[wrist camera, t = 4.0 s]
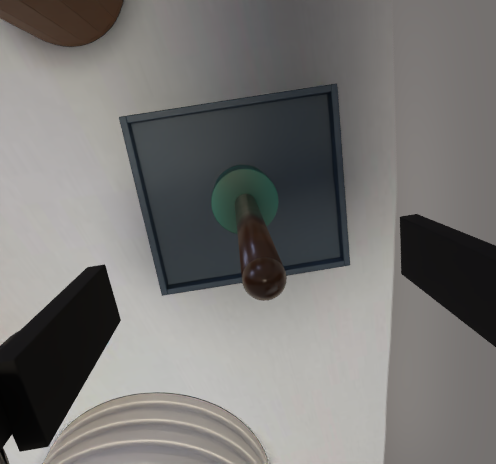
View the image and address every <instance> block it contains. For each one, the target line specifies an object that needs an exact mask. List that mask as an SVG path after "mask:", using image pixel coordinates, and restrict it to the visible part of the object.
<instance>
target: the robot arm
mask: <svg viewBox="0 0 496 464" xmlns="http://www.w3.org/2000/svg"><path fill="white" fill-rule="evenodd" d="M400 236H401V273H402V275H404V276H405V277H406V278H407V279H409V280H410V281H411V282H413V283H414V284H415V285H417V286H418V287H419V288H420V289H422V290H423V291H424V292H425V293H427V294H428V295H429V296H431V297H432V298H433V299H434V300H436V301H437V302H438V303H440V304H441V305H442V306H443V307H445V308H446V309H448V310H449V311H450V312H451V313H452V314H454V315H455V316H456V317H458V318H459V319H460V320H461V321H463V322H464V323H465V324H467V325H468V326H469V327H471V328H472V329H473V330H474V331H476V332H477V333H478V334H479V335H481V336H482V337H483V338H485V339H486V340H487V341H488V342H490V343H491V344H492V345H494V346H495V347H496V246H495V245H492V244H490V243H488V242H485V241H483V240H480V239H478V238H475V237H473V236H470V235H468V234H465V233H463V232H460V231H458V230H455V229H453V228H450V227H448V226H445V225H443V224H440V223H437V222H435V221H433V220H430V219H428V218H425V217H423V216H420V215H418V214H415V215H408V216H402V217H400ZM120 321H121V319H120V316H119V312H118V309H117V305H116V302H115V298H114V295H113V291H112V288H111V284H110V281H109V277H108V274H107V270H106V266H105V265H99V266H93V267H87V268H86V269H85V270H84V271H83V272H82V273H81V274H80V275H79V276H78V277H77V278H76V279H75V280H73V281H72V282H71V283H70V284H69V285H68V286H67V287H66V288H65V289H64V290H63V291H62V292H61V293H60V294H59V295H57V296H56V297H55V298H54V299H53V300H52V301H51V302H50V303H49V304H48V305H47V306H46V307H45V308H44V309H43V310H42V311H40V312H39V313H38V314H37V315H36V316H35V317H34V318H33V319H32V320H31V321H30V322H29V323H28V324H27V325H26V326H24V327H23V328H22V329H21V330H20V331H18V332H17V333H15V334H14V335H12V336H10V337H9V338H8V339H7V340H6V341H5V342H4V343H3V344H2V345H1V346H0V464H9V461H8V458H7V456H6V453H5V451H4V449H3V446H4V445H5V443H6V442H7V441H8V439H9V438H10V436H11V435H13V437H14V439H15V442H16V444H17V446H18V449H19V451H26V450H32V449H38V448H43V447H48V446H49V444H50V442H51V441H52V439H53V437H54V435H55V434H56V432H57V430H58V429H59V427H60V425H61V423H62V422H63V420H64V418H65V416H66V415H67V413H68V411H69V409H70V408H71V406H72V404H73V402H74V401H75V399H76V397H77V396H78V394H79V392H80V390H81V389H82V387H83V385H84V383H85V382H86V380H87V378H88V376H89V375H90V373H91V371H92V369H93V368H94V366H95V364H96V362H97V361H98V359H99V357H100V356H101V354H102V352H103V350H104V349H105V347H106V345H107V343H108V342H109V340H110V338H111V336H112V335H113V333H114V331H115V329H116V328H117V326H118V324H119V323H120Z"/></svg>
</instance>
